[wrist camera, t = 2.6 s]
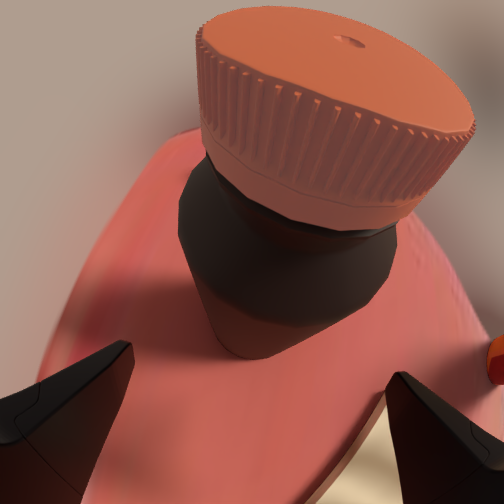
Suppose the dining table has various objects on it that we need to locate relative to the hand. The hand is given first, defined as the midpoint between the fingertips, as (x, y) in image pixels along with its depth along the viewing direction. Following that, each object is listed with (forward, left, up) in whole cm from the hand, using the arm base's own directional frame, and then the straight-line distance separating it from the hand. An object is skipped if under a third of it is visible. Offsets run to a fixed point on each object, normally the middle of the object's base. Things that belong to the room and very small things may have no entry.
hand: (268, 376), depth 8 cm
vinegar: (+4, +2, -13) cm, 14 cm away
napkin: (-2, -17, -12) cm, 21 cm away
